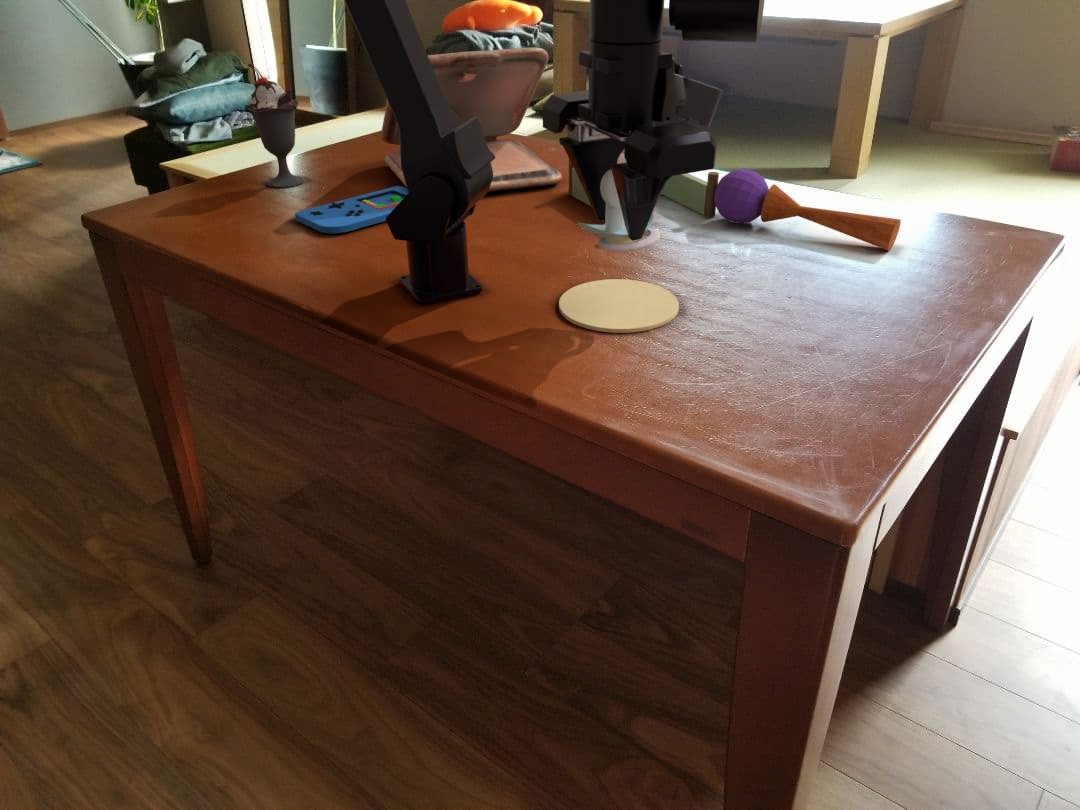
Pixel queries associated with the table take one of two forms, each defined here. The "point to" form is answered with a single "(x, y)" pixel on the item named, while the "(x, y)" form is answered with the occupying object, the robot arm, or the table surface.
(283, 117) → the sundae
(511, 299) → the table surface
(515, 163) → the case
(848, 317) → the table surface
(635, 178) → the robot arm
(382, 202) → the handheld gaming device
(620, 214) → the pacifier
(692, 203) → the rack
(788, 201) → the kendama
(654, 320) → the coaster
